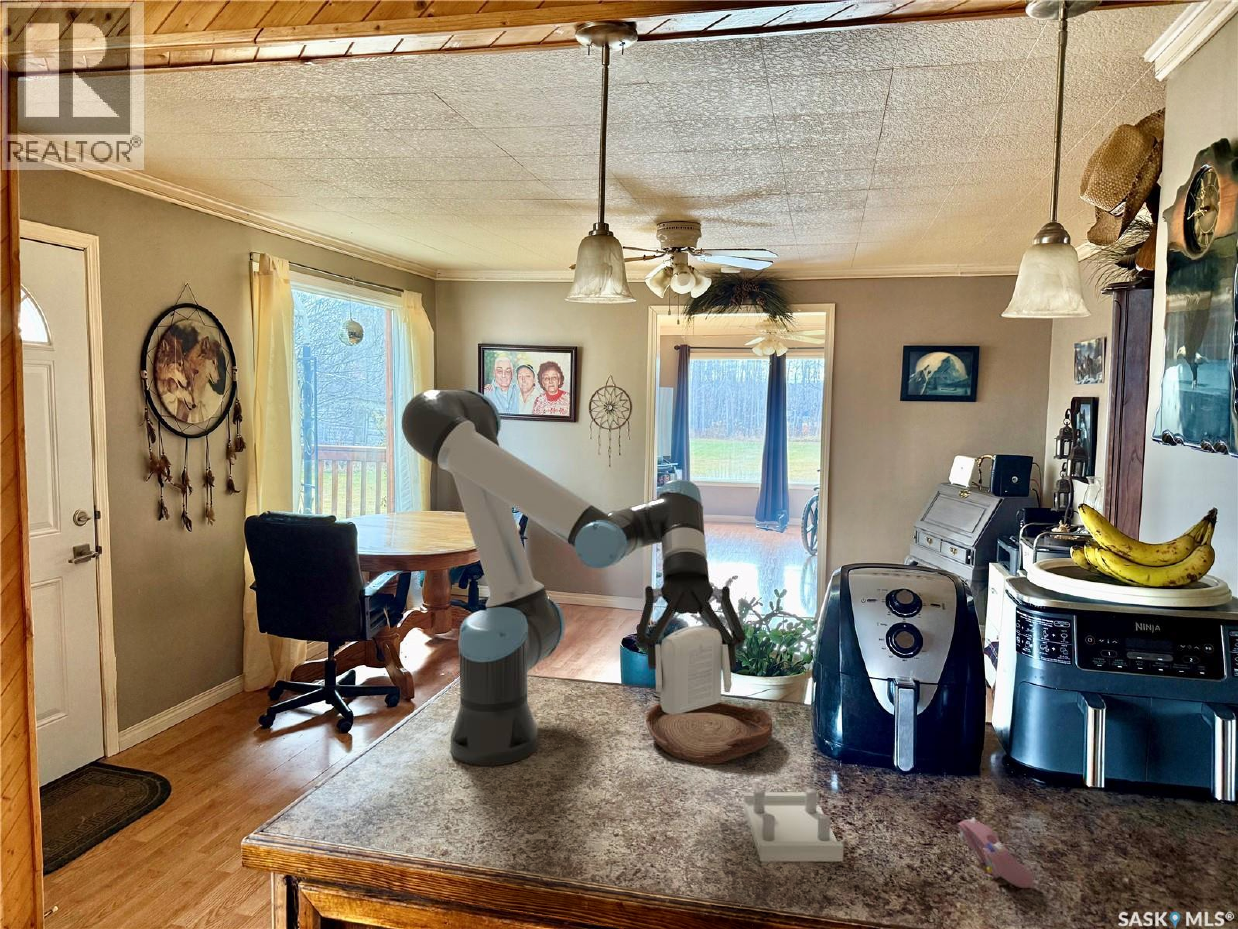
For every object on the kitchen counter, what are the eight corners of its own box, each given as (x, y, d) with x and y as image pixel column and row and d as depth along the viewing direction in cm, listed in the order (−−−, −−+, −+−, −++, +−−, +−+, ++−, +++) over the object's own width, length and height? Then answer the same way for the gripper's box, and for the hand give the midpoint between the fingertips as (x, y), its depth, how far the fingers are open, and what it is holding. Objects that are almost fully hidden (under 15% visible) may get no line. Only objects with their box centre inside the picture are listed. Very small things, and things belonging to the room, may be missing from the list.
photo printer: (707, 694, 126) (708, 618, 124) (725, 703, 122) (726, 625, 121) (655, 708, 120) (656, 629, 119) (673, 718, 116) (673, 637, 115)
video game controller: (965, 858, 108) (945, 816, 107) (994, 842, 109) (974, 800, 108) (1008, 904, 99) (986, 858, 98) (1039, 887, 99) (1018, 841, 98)
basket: (635, 759, 134) (635, 731, 134) (657, 713, 154) (657, 688, 153) (769, 774, 129) (769, 745, 129) (774, 725, 149) (775, 699, 148)
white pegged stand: (743, 806, 119) (743, 779, 118) (815, 806, 119) (816, 779, 118) (760, 861, 105) (761, 831, 104) (842, 861, 105) (843, 831, 104)
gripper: (748, 573, 135) (764, 698, 121) (618, 573, 135) (618, 699, 120) (754, 549, 129) (771, 677, 115) (618, 549, 129) (619, 677, 114)
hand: (693, 688), depth 118 cm, fingers closed on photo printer, 10 cm apart
